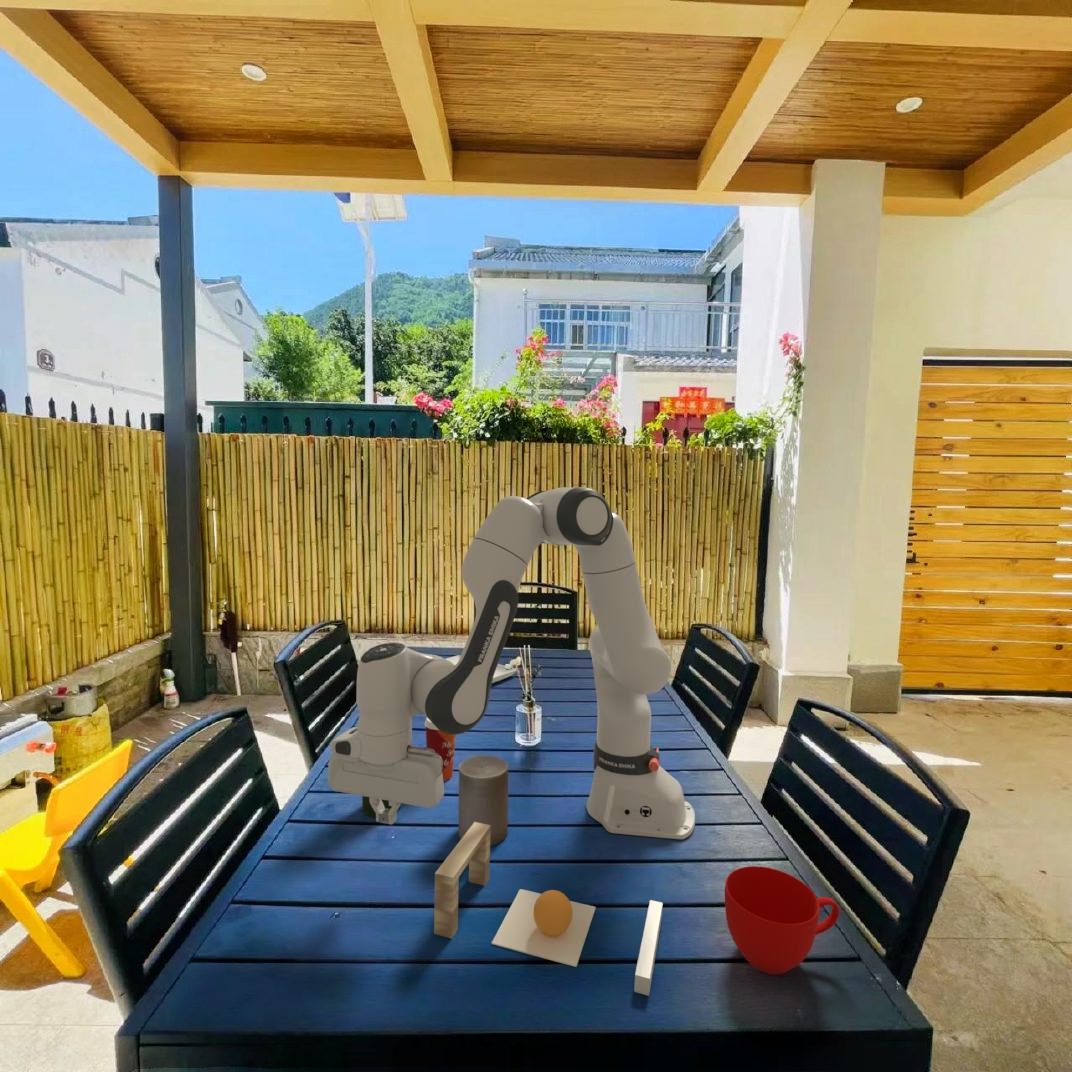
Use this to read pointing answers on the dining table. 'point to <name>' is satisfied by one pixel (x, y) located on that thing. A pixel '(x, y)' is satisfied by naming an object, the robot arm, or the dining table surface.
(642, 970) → the wall
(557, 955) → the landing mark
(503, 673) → the square plate
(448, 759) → the paper cup
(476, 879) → the bridge
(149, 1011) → the dining table surface
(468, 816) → the pillar candle
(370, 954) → the dining table surface
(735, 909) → the ceramic cup
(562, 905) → the ball
